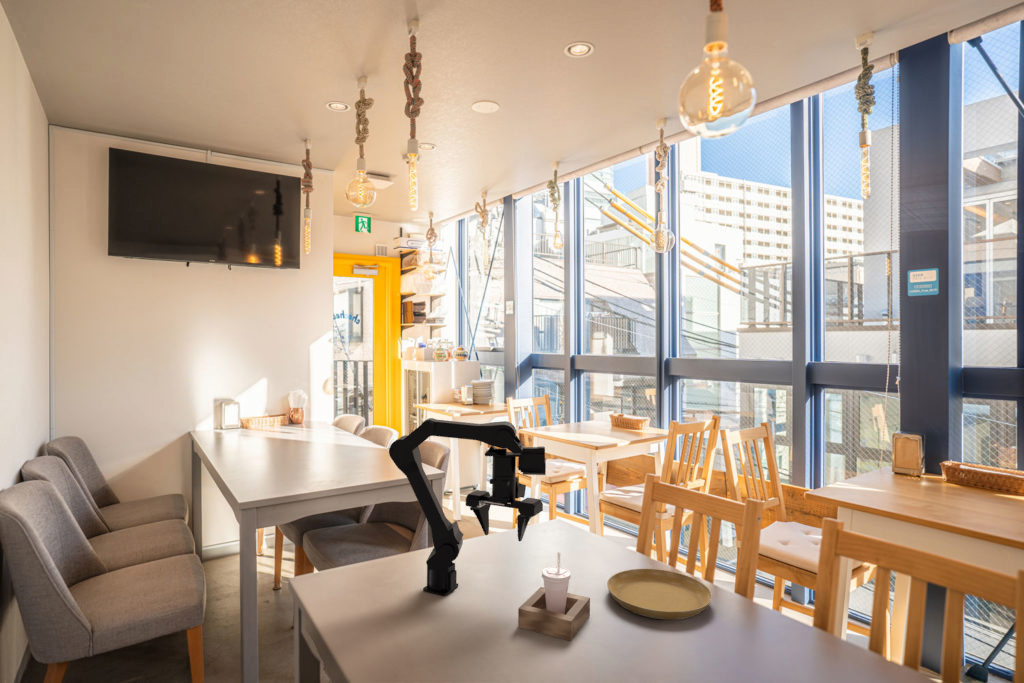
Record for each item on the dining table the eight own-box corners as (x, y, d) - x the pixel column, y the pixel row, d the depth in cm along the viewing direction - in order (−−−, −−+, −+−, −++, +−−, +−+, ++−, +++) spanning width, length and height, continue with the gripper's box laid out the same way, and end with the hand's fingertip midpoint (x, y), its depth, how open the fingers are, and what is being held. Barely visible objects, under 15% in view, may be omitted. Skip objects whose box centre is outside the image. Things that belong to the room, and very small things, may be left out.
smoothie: (574, 621, 122) (575, 556, 122) (546, 624, 120) (546, 559, 120) (564, 608, 128) (565, 546, 128) (537, 610, 127) (538, 548, 127)
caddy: (518, 627, 121) (518, 608, 121) (540, 604, 132) (540, 586, 132) (571, 640, 116) (571, 621, 116) (589, 615, 126) (590, 597, 126)
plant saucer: (615, 574, 150) (615, 561, 150) (712, 588, 142) (712, 575, 142) (598, 615, 127) (598, 600, 127) (711, 635, 119) (712, 619, 119)
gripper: (551, 471, 141) (551, 534, 141) (486, 463, 150) (485, 522, 150) (533, 481, 131) (532, 548, 131) (464, 472, 140) (464, 535, 140)
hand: (503, 537), depth 138 cm, fingers open, 9 cm apart
